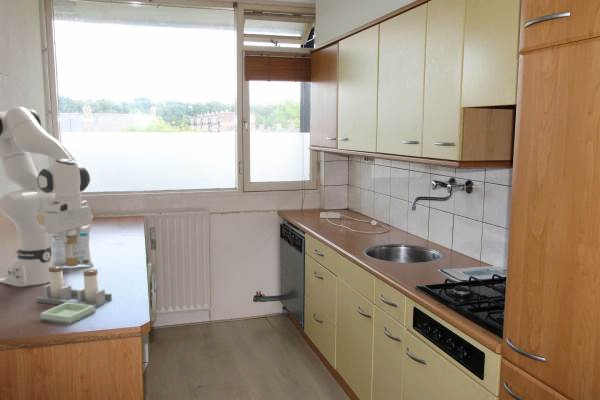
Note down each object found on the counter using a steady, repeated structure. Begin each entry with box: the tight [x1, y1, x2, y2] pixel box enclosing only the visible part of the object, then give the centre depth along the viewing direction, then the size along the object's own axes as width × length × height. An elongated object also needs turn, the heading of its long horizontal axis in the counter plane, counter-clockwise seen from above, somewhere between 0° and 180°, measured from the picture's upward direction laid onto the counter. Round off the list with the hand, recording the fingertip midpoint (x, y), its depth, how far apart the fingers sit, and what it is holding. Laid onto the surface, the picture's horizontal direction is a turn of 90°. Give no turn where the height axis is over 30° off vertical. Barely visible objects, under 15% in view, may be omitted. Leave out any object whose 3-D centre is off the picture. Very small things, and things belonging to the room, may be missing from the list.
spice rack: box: [36, 283, 113, 307], centre depth 197 cm, size 25×10×5 cm, turn 71°
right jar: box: [82, 268, 99, 305], centre depth 194 cm, size 5×5×12 cm
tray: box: [40, 302, 96, 325], centre depth 181 cm, size 12×12×2 cm
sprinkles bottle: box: [64, 229, 80, 268], centre depth 195 cm, size 5×5×13 cm
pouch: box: [49, 223, 94, 267], centre depth 244 cm, size 8×19×20 cm, turn 102°
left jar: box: [49, 266, 64, 299], centre depth 199 cm, size 5×5×12 cm
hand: (70, 241), depth 195 cm, fingers closed on sprinkles bottle, 4 cm apart
